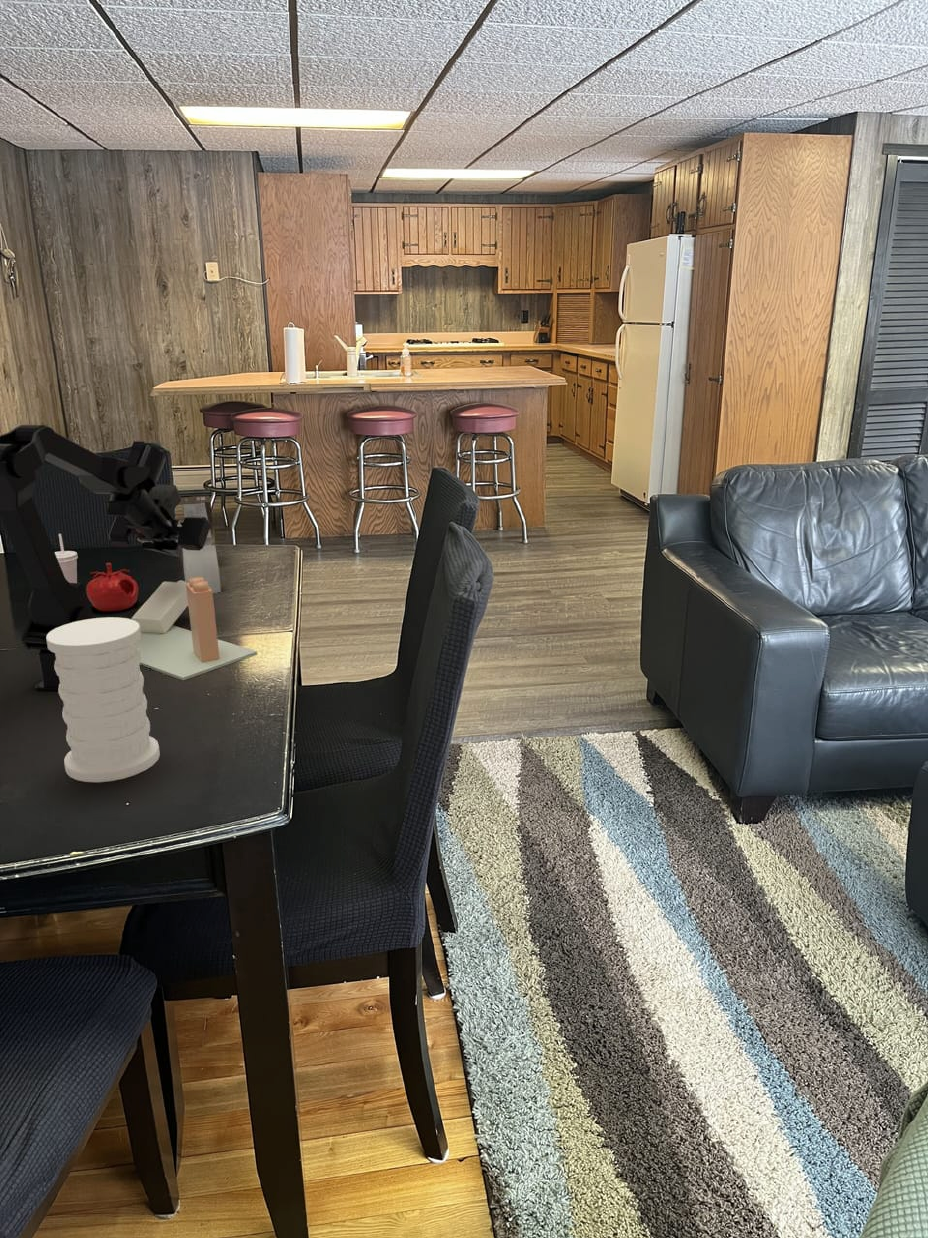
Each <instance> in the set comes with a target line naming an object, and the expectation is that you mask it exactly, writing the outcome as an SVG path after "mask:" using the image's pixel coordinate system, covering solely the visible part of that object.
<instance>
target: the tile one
mask: <svg viewBox="0 0 928 1238" xmlns="http://www.w3.org/2000/svg"><path fill="white" fill-rule="evenodd" d="M188 584H189V583H186V582H185V580H178V581H177V582H176V581H163V582H162V583H161V584H160V585H159V586H158V588H156V589H155V591H154V592H152V594H151V595H150V597H149V598H148V599H147V600H146V601H145V602H144V603H143V605H141V606H140V608H139V609H138V610H137V611H136V612H135V614H134V615H133V616H132V617H131V618H130V619H131V620H135V621H136V622H138V623H139V625H140V632H152V633H166V632H167V631H168V629H169V628H170V627H171V626H172V625H174V623H175V622H176V621H177V620H178V618H179V617H180V616H181V614H182V613H183V612H184V611H185V610H186V608H187V607H188V598H187V590H186V585H188Z"/></svg>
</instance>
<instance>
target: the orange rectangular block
mask: <svg viewBox="0 0 928 1238" xmlns="http://www.w3.org/2000/svg"><path fill="white" fill-rule="evenodd" d="M186 590H187V598H188V606H187V607H188V612H189V613H188V614H189V615H188V616H189V622H190V624H189V625H190V631H191V633H192V641H193V650H194V652H195V654H196V655H197V657H198V658H199V659H200V661H201V662H205V661H210V660H216V659H220V658H219V649H218V632H217V631H218V630H217V621H216V613H215V612H216V611H215V604H214V596H213V594H214V593H212V590H211V589H210V588H209V587H208V582H207V581H204V578H203V577H192V578H189V584H188V585H186Z"/></svg>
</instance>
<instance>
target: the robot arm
mask: <svg viewBox="0 0 928 1238" xmlns="http://www.w3.org/2000/svg"><path fill="white" fill-rule="evenodd" d="M131 444H132V445H131V448H130V452H129V454H128V456H127V459H126V460H125V459H122V458H119V457H114V456H106V455H100V454H97V453H95V452H94V451H92V450H89V449H88V448H86V447H84V446H83V445H81V444H78V443H77V442H74V441H73V440H71V439H69V438H68V437H65V436H63V435H61V434H59V433H57V431H55V430H54V429H53V428H52V427H50V426H48V425H45V424H20V425H19V426H16V427H15V428H13V429H11V430H10V431H9V432H5V433H3V434H1V435H0V519H1V522H2V525H4V528H5V530H6V533H7V535H8V537H9V540H10V542H11V544H12V547H13V549H14V551H15V553H16V556H17V559H18V560H19V562H20V566H21V568H22V570H23V571H24V573H25V576H26V578H27V580H28V583H29V585H30V587H31V595H30V599H29V603H28V609H29V613H30V618H29V621H28V623H27V625H26V628H25V630H24V632H23V634H22V637H21V642H22V644H23V646H24V648H25V650H35V651H36V650H37V651H39V652H38V653H37V654H38V660H39V664H40V672H41V676H42V677H41V678H42V681H40V682H39V683H37V684H36V685H34V690H37V691H39V690H41V691H58V689H59V684H60V680H59V676H58V675H57V674H56V671H55V669H54V665H55V660H56V656H55V653H53V652H51V651H50V650H49V649H48V646H47V640H46V636H47V634H48V633H49V632H50V631H52V630H54V629H55V628H57V627H60V626H62V625H65V624H69V623H72V622H76V621H81V620H86V619H94V616H93V611H92V607H91V606H93V605H92V603H91V602H90V600H89V599H88V597H87V593H86V587H85V586H84V585H83V583H81V582H80V583H79V582H77V583H69V582H68V581H67V580H66V578H65V577H64V574H63V572H62V569H61V567H60V564H59V562H58V560H57V557H56V555H55V552H56V551H54V547H53V545H52V543H51V540H50V538H49V535H48V533H47V530H46V528H45V526H44V523H43V521H42V519H41V516H40V514H39V511H38V509H37V507H36V504H35V502H34V499H33V495H34V491H35V487H36V483H37V477H36V473H35V471H36V470H38V469H39V468H41V467H42V466H43V465H44V464H45V461H46V462H48V463H50V464H52V465H54V466H56V467H58V468H60V469H63V470H64V471H66V472H68V473H71V474H73V475H74V476H76V477H78V479H79V482H80V484H81V485H83V486H84V487H85V488H86V489H87V490H89V491H90V492H91V493H93V494H97V495H99V494H100V495H103V494H104V495H110V498H109V500H108V502H107V503H108V505H107V508H106V513H107V514H106V515H107V516H110V517H115V518H114V521H113V523H112V525H111V528H110V531H109V533H108V539H109V541H110V542H111V543H112V544H113V545H114V547H123V548H128V547H129V546H130V543H131V542H130V541H129V540H128V539H129V536H130V535H131V534H132V535H133V534H134V535H137V537H136V538H137V541H138V542H141V543H142V545H141V548H142V549H144V550H149V551H154V552H157V553H161V554H165V555H168V556H173V557H177V558H183V550H182V548H184V549H186V550H198V551H200V550H201V549H203V547H204V544H205V541H206V538H207V535H208V532H209V530H210V527H211V524H210V523H209V521H208V520H207V519H206V517H199V516H188V517H185V519H184V518H183V522H181V521H180V520H179V519H175V517H176V513H175V512H174V510H175V509H176V508H177V506H178V505H179V504H180V503H182V501H183V498H182V497H181V495H180V492H179V490H178V487H177V486H176V485H175V484H157V483H158V480H159V477H160V476H161V472H162V469H163V467H164V464H165V463H166V460H167V459H166V458H167V457H166V455H165V453H164V452H163V451H161V450H159V449H158V448H156V447H155V446H151V445H149V444H146V442H145V441H140V440H139V441H138V440H136V441H135V440H133V442H132V443H131Z"/></svg>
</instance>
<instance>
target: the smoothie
mask: <svg viewBox="0 0 928 1238" xmlns="http://www.w3.org/2000/svg"><path fill="white" fill-rule="evenodd" d="M62 536H63V535H62V533H58V538H59V546H60V551H54V552H55V555H56V557H57V560H58V562H59V564H60V567H61V569H62V572H63V574H64V577H65V578H66V580H67V581H68V582H69V583H78V571H77V570H78V569H77V568H78V567H77V565H78V563H77V559H78V558H79V557H78V553H77V551H73V550H65V549H64V542H63V537H62Z"/></svg>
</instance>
